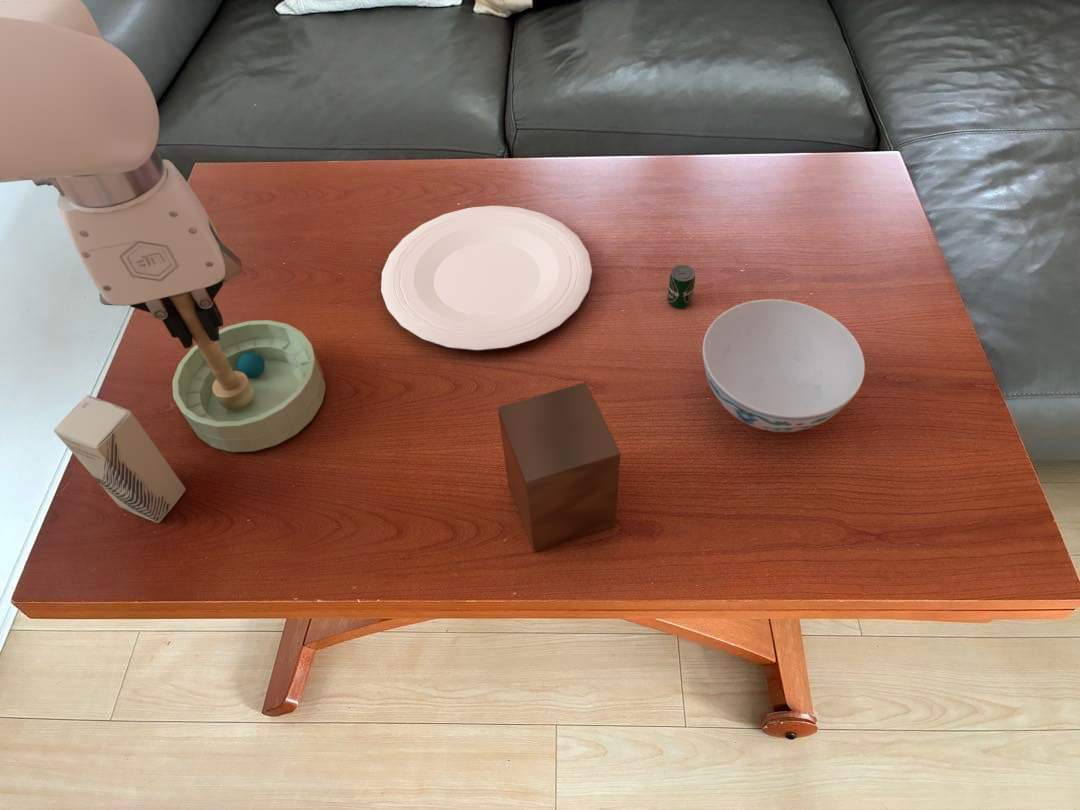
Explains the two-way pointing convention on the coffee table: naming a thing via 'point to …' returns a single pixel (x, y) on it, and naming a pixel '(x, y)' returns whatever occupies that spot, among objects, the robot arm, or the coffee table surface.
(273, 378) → the bowl
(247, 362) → the ball
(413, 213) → the coffee table surface
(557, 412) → the stand
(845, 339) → the chinaware
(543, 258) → the plate
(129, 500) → the box
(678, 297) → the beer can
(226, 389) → the stick
